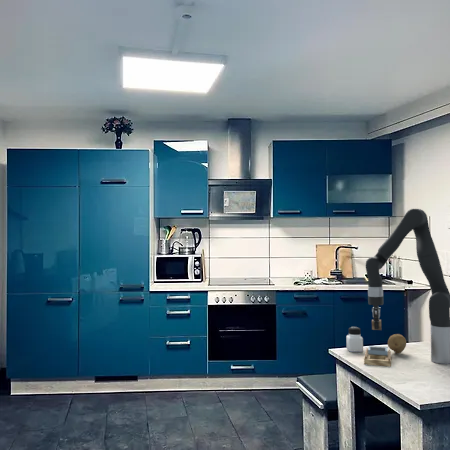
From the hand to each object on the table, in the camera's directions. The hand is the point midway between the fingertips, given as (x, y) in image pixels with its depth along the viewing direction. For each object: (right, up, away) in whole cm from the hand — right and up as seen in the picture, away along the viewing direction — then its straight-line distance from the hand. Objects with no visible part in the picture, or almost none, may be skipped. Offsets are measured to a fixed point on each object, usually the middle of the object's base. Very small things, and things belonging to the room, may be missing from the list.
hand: (376, 328), depth 252 cm
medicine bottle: (-10, -13, +4) cm, 17 cm away
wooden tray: (-4, -12, -16) cm, 21 cm away
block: (0, -1, 0) cm, 1 cm away
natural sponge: (+9, -13, -3) cm, 16 cm away
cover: (-3, -9, -12) cm, 16 cm away
